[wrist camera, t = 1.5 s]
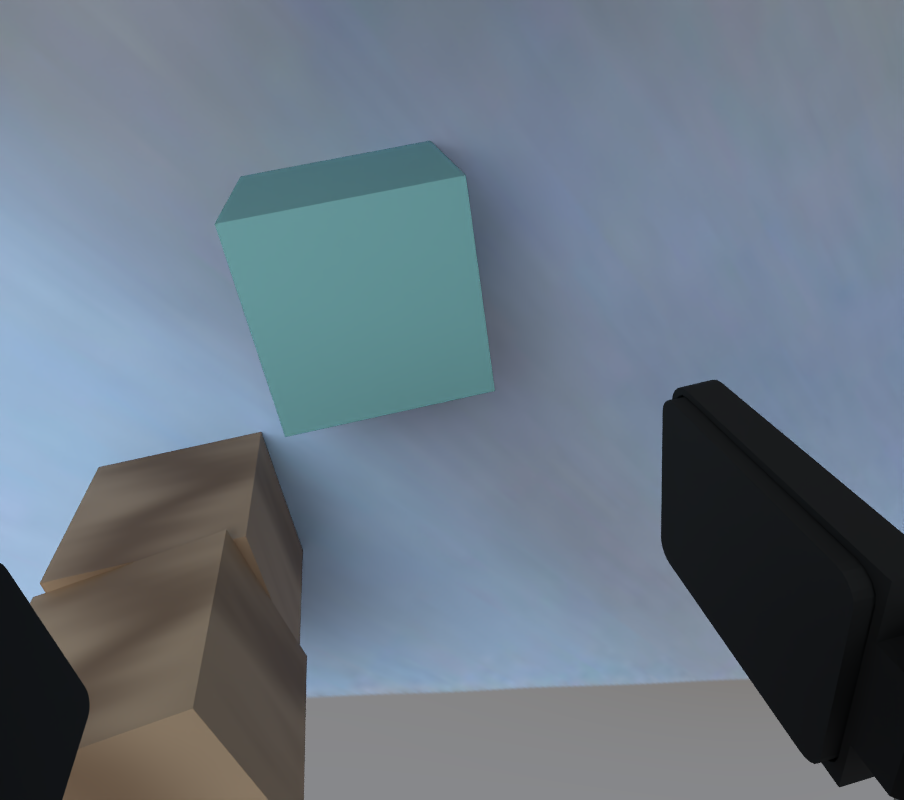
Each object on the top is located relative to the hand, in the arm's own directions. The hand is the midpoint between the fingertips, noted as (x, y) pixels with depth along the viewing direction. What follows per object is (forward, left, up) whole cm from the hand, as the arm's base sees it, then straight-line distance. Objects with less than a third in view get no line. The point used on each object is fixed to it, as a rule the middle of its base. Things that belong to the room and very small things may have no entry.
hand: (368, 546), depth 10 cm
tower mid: (+7, +9, -9) cm, 15 cm away
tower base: (+7, +9, -15) cm, 19 cm away
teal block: (-1, 0, -15) cm, 15 cm away
